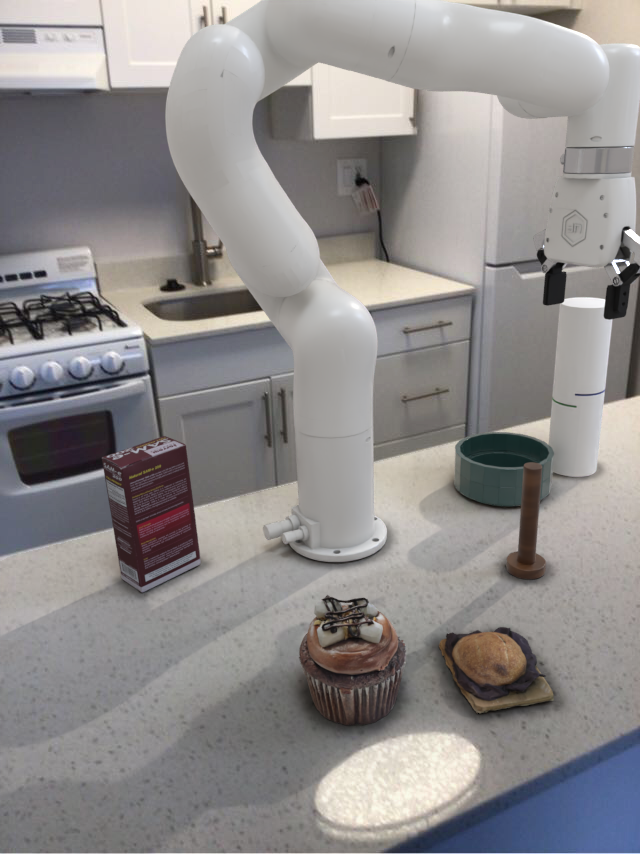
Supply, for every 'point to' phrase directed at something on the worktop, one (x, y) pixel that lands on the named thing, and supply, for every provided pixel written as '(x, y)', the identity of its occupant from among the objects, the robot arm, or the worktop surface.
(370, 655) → the cupcake
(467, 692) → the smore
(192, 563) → the supplement box
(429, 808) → the worktop surface
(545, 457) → the bowl
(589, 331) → the cylindrical container
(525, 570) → the paper towel holder
